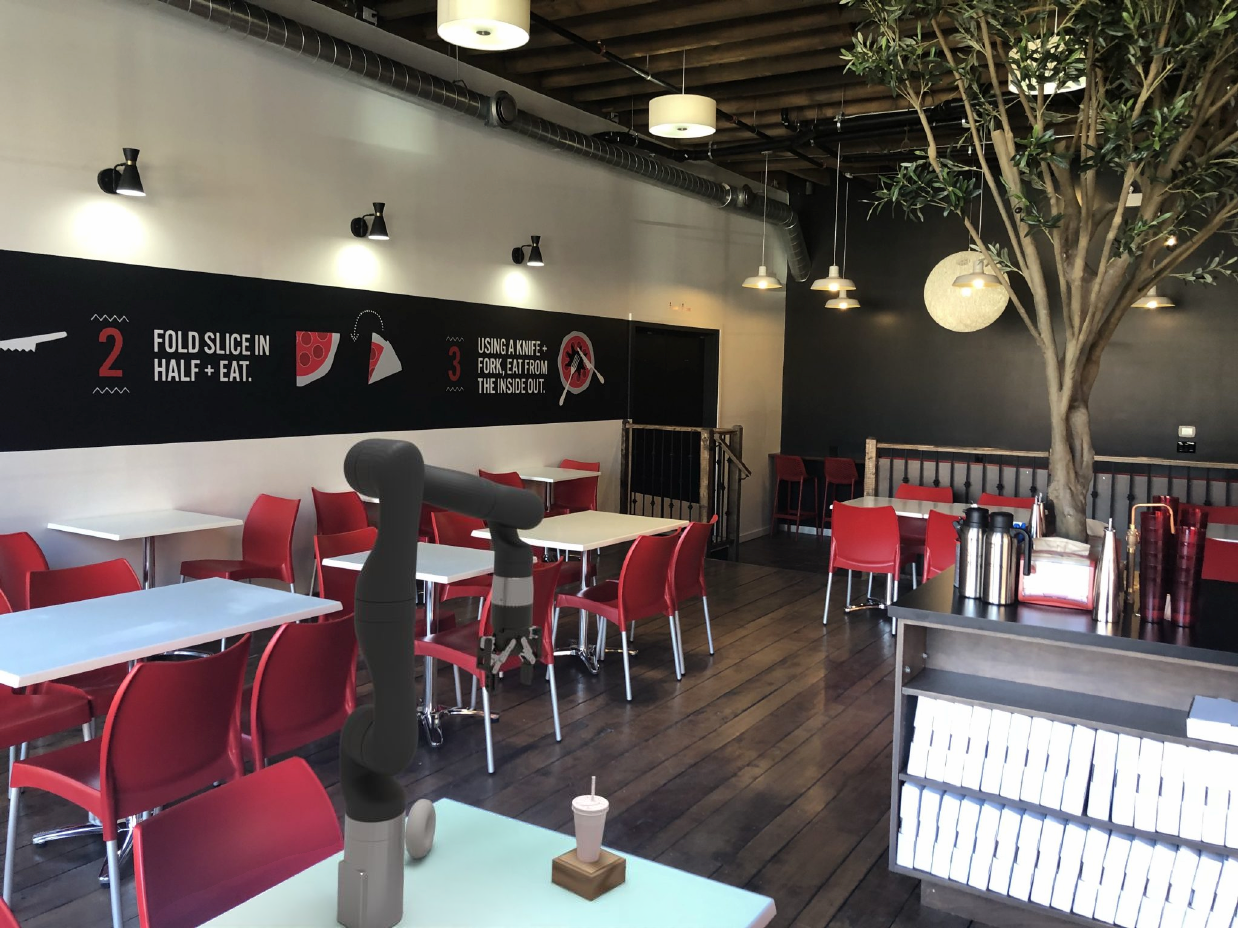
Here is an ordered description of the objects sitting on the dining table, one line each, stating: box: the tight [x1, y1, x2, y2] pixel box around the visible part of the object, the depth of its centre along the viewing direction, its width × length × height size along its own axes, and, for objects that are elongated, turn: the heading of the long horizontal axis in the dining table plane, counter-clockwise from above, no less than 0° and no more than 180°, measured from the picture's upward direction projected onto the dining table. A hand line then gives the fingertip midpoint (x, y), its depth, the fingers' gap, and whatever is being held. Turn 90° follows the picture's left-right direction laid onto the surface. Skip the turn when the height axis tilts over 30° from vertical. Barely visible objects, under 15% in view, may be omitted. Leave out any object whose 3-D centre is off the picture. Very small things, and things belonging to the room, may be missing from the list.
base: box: [550, 846, 627, 902], centre depth 162 cm, size 9×9×4 cm
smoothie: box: [571, 776, 610, 862], centre depth 162 cm, size 6×6×14 cm
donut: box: [405, 798, 437, 859], centre depth 169 cm, size 10×4×10 cm, turn 174°
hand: (509, 687), depth 171 cm, fingers open, 8 cm apart
